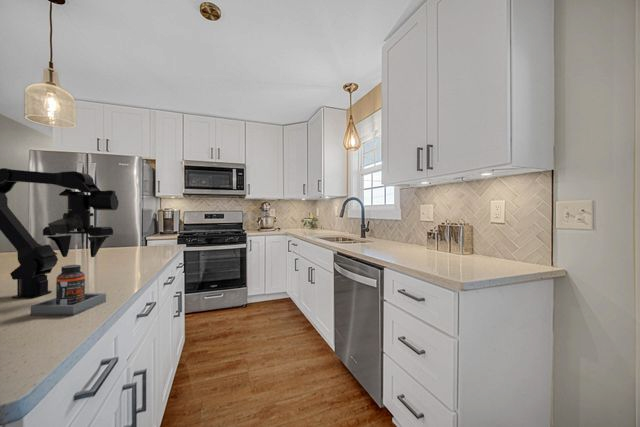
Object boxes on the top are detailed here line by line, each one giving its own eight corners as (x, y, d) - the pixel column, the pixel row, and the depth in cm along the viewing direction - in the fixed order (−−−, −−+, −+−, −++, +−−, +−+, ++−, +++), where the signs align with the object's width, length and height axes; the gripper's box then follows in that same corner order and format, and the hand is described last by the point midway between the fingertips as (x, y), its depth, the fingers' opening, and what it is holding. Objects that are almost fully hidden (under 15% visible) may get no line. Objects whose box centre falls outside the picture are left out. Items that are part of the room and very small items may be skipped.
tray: (30, 315, 70) (30, 305, 70) (69, 301, 81) (69, 293, 81) (73, 315, 71) (73, 306, 71) (105, 301, 82) (105, 293, 82)
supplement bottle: (67, 310, 73) (66, 268, 72) (50, 308, 74) (50, 267, 74) (90, 303, 78) (90, 264, 78) (74, 301, 80) (74, 263, 80)
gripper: (24, 209, 81) (24, 261, 82) (87, 210, 82) (86, 261, 82) (59, 209, 93) (59, 255, 93) (114, 210, 93) (114, 255, 93)
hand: (78, 256), depth 90 cm, fingers open, 9 cm apart
